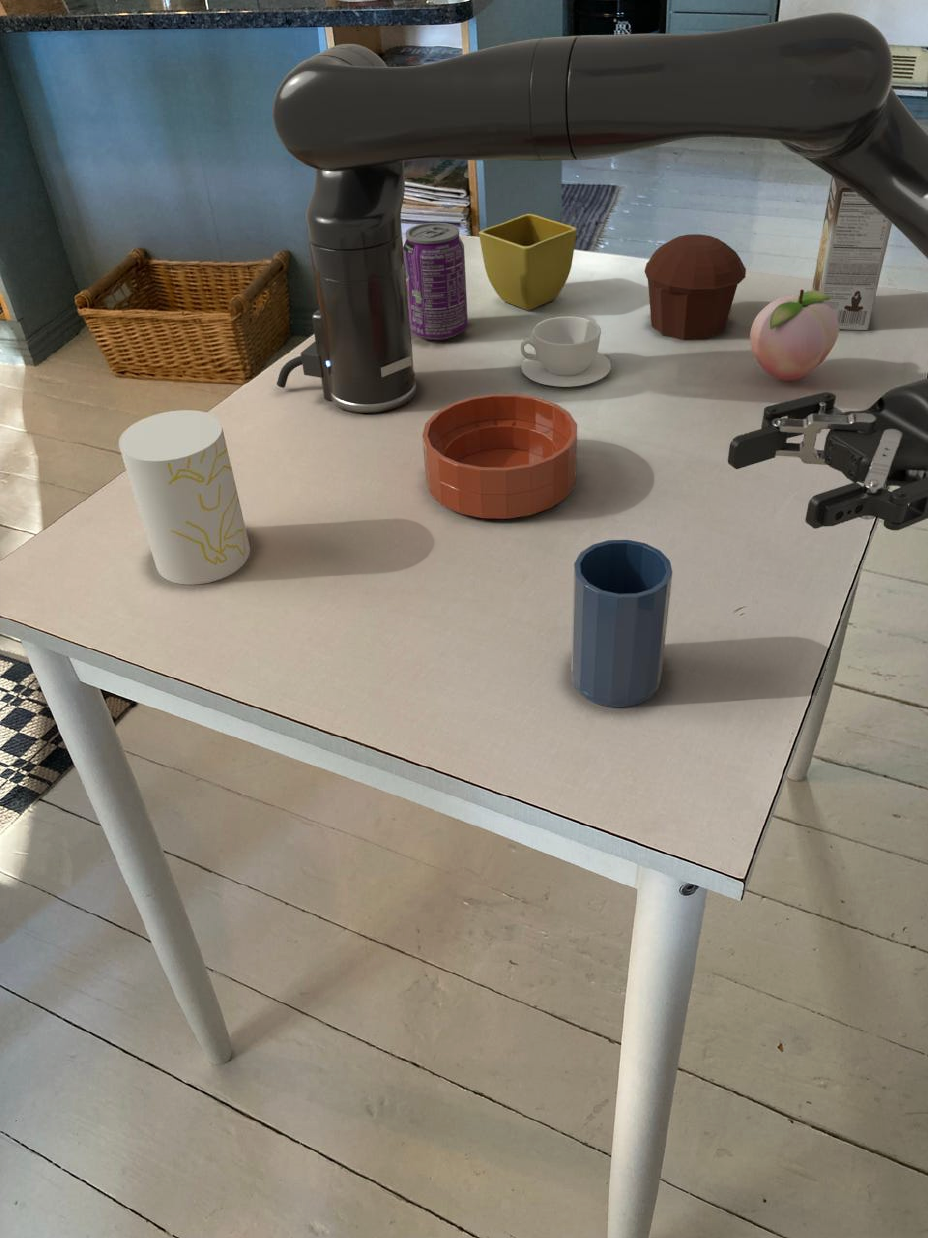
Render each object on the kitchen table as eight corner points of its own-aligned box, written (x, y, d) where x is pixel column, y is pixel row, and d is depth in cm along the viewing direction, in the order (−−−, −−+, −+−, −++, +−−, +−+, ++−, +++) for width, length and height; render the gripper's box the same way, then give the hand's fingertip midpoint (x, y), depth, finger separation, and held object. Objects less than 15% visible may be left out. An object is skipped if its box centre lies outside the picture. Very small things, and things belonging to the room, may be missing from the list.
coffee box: (808, 298, 123) (832, 160, 113) (862, 300, 122) (892, 161, 112) (812, 329, 116) (839, 185, 106) (870, 331, 115) (903, 186, 105)
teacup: (604, 348, 115) (605, 308, 112) (616, 387, 107) (619, 346, 104) (517, 353, 115) (517, 314, 112) (524, 393, 107) (524, 352, 104)
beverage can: (433, 315, 125) (426, 217, 117) (479, 327, 121) (475, 226, 114) (398, 336, 120) (388, 235, 113) (444, 348, 117) (438, 246, 109)
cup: (205, 595, 83) (171, 470, 75) (136, 567, 86) (96, 445, 78) (269, 544, 88) (243, 423, 80) (201, 520, 91) (170, 402, 84)
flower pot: (527, 321, 122) (526, 247, 116) (479, 302, 127) (476, 230, 122) (577, 299, 126) (578, 227, 120) (529, 282, 131) (528, 212, 126)
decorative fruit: (770, 354, 112) (784, 266, 105) (839, 373, 107) (858, 282, 101) (727, 386, 106) (739, 294, 100) (798, 407, 102) (815, 313, 96)
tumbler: (559, 694, 72) (561, 584, 65) (587, 639, 76) (592, 532, 70) (646, 717, 69) (656, 606, 63) (670, 659, 74) (682, 550, 67)
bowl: (402, 506, 92) (396, 454, 88) (463, 434, 101) (460, 384, 98) (545, 536, 87) (545, 482, 83) (595, 457, 96) (597, 406, 93)
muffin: (621, 322, 120) (625, 238, 114) (685, 297, 125) (693, 216, 119) (693, 354, 113) (702, 266, 106) (759, 326, 118) (772, 241, 111)
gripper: (893, 339, 75) (713, 390, 70) (1051, 419, 65) (852, 485, 60) (873, 428, 80) (702, 481, 75) (1017, 515, 69) (830, 583, 65)
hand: (769, 483), depth 67 cm, fingers open, 8 cm apart
